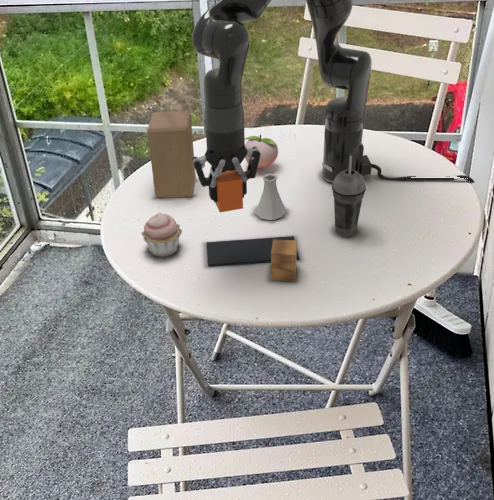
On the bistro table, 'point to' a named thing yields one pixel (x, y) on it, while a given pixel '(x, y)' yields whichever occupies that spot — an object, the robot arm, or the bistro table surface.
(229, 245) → the mat
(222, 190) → the orange block
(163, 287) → the bistro table surface
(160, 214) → the cupcake
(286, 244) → the oak block
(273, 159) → the decorative fruit
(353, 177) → the beverage cup
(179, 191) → the wooden block
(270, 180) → the flask
